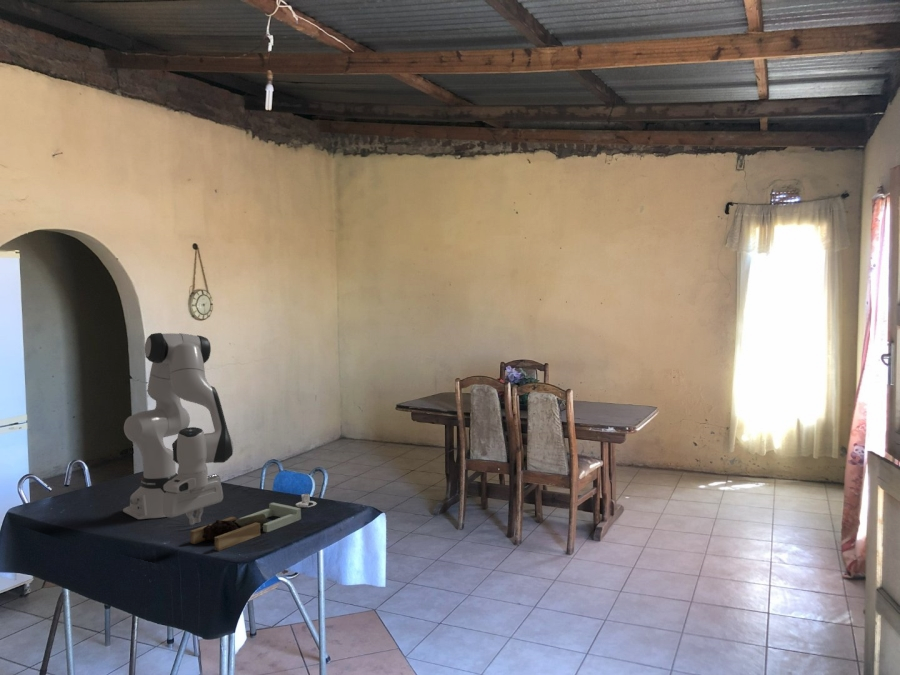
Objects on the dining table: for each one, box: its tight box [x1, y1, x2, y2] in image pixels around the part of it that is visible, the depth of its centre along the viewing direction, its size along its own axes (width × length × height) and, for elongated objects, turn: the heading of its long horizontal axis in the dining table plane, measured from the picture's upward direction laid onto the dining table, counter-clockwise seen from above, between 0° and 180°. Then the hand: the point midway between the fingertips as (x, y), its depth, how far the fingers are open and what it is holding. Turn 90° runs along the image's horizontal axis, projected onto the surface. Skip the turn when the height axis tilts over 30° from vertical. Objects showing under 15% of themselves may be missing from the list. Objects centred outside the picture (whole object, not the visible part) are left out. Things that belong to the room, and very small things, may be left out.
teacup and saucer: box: [295, 493, 318, 508], centre depth 266 cm, size 9×8×4 cm
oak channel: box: [189, 516, 261, 552], centre depth 229 cm, size 14×17×4 cm
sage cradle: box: [238, 502, 302, 533], centre depth 246 cm, size 14×16×4 cm
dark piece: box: [202, 514, 268, 542], centre depth 232 cm, size 21×8×7 cm, turn 133°
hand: (195, 523), depth 218 cm, fingers closed
